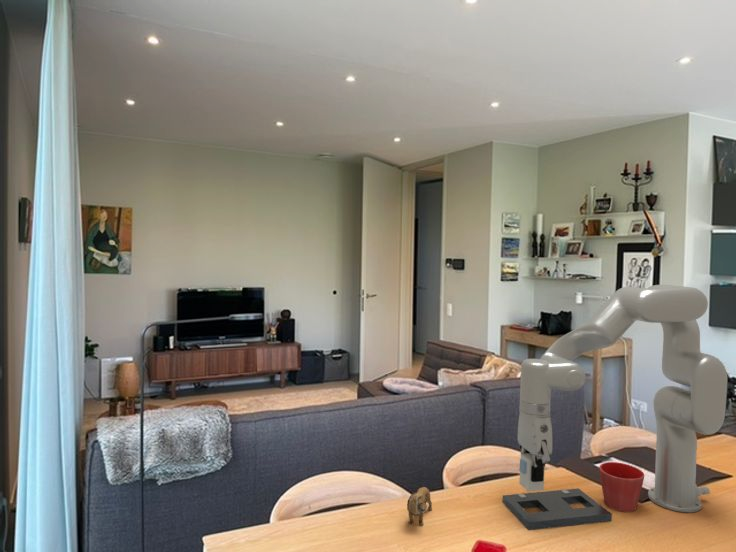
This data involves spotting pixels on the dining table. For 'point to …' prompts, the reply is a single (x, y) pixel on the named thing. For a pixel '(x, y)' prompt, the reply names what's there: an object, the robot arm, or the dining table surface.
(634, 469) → the flower pot
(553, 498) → the panel
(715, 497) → the dining table surface
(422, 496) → the brown animal figurine
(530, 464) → the plug
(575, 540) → the dining table surface
